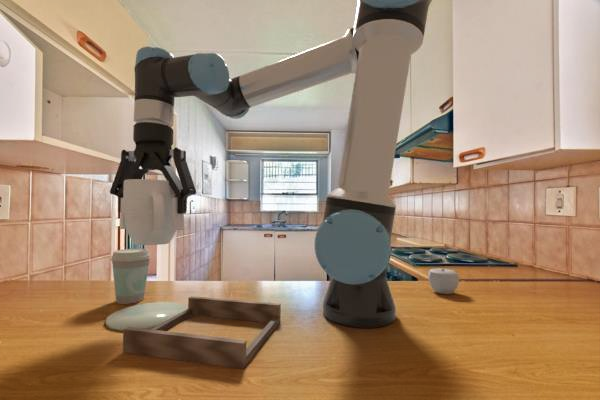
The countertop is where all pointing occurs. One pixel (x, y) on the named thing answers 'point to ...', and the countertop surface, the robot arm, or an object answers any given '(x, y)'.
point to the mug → (148, 211)
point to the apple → (443, 280)
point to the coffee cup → (130, 274)
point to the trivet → (144, 315)
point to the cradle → (199, 345)
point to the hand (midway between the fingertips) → (151, 229)
